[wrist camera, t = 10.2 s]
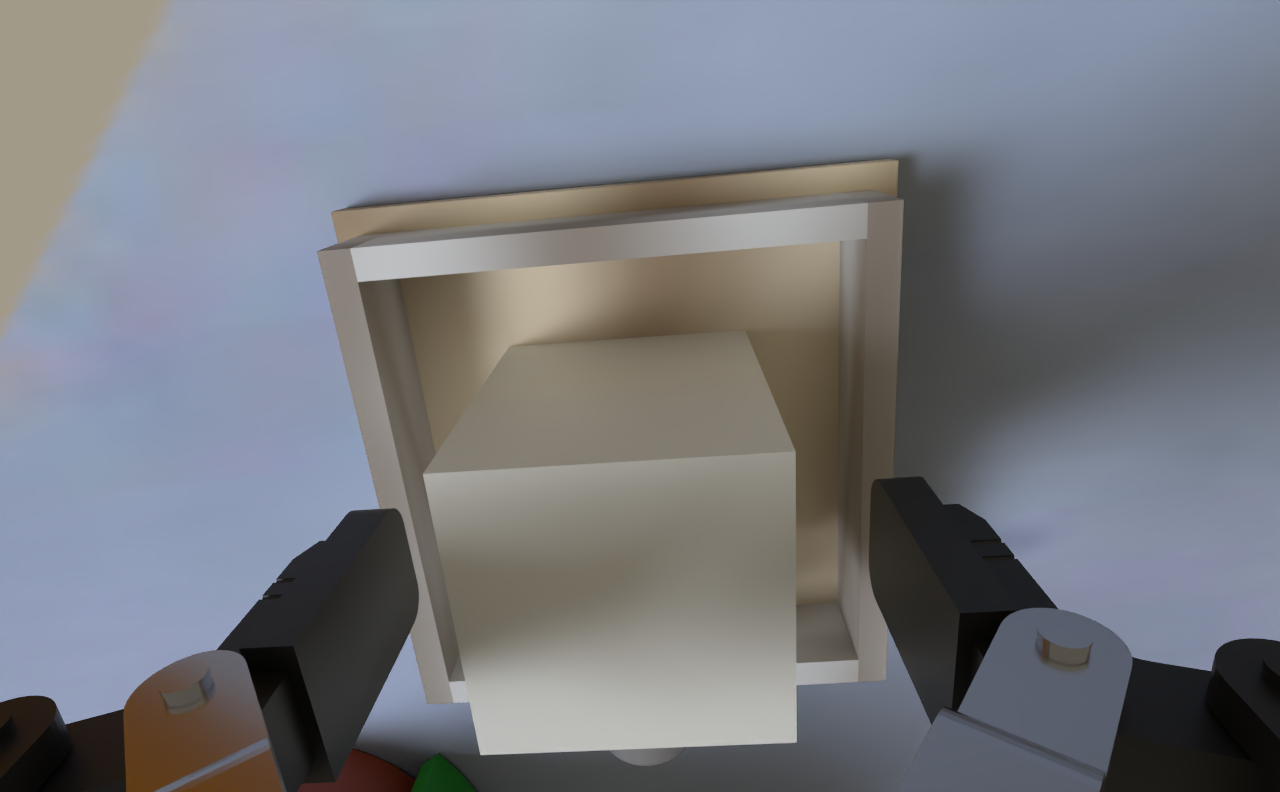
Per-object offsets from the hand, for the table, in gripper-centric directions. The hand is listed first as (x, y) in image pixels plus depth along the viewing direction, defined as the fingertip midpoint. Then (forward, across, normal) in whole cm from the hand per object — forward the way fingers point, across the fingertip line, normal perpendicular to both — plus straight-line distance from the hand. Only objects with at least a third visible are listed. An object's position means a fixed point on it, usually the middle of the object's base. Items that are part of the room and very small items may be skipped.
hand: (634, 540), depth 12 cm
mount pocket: (+5, 0, 0) cm, 5 cm away
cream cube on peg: (+4, 0, +1) cm, 4 cm away
